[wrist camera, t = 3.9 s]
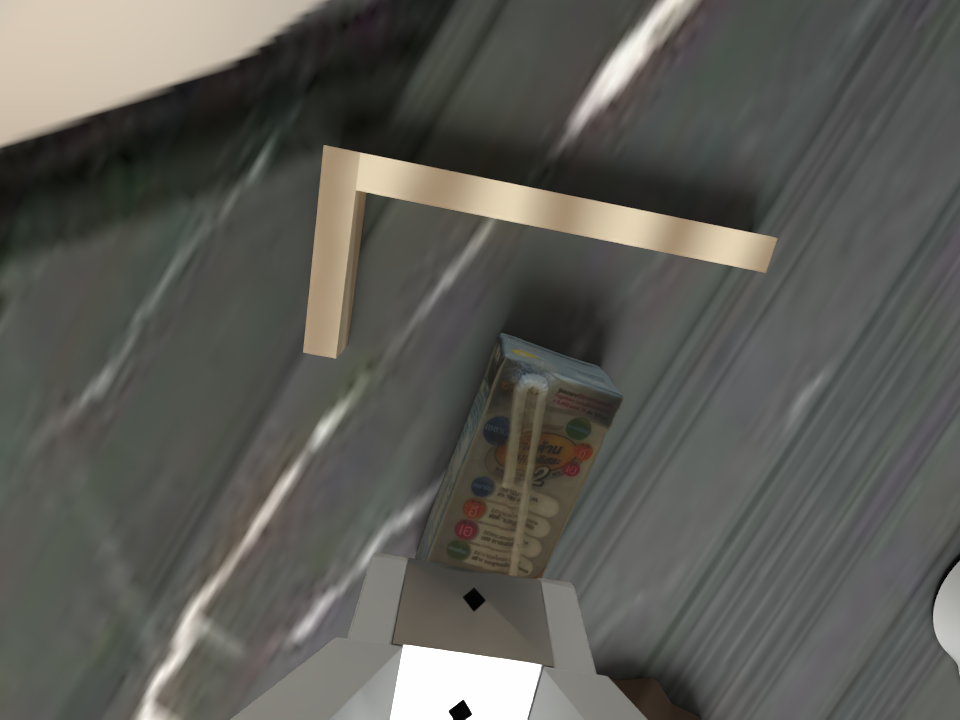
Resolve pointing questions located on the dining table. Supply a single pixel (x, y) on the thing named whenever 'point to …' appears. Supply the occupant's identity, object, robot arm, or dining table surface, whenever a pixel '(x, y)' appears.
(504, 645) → the robot arm
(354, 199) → the oak fence
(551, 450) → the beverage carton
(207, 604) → the dining table surface
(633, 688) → the decorative dome
